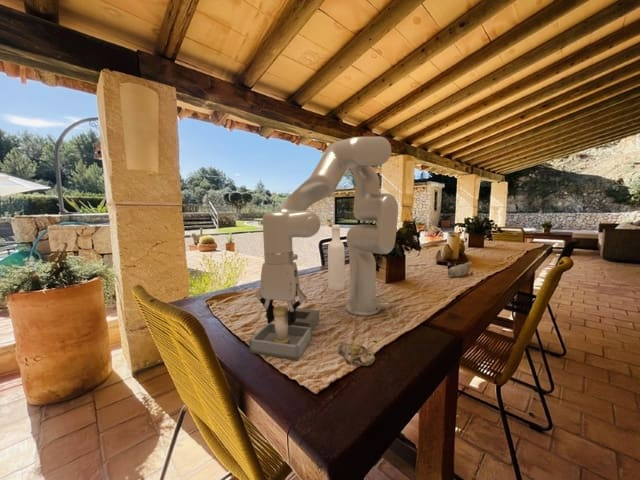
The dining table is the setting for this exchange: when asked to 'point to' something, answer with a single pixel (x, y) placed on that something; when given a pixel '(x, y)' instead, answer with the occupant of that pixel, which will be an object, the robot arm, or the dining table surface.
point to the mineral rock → (356, 354)
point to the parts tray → (266, 343)
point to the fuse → (281, 324)
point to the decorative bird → (460, 270)
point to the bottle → (336, 261)
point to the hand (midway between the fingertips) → (281, 321)
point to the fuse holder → (306, 318)
